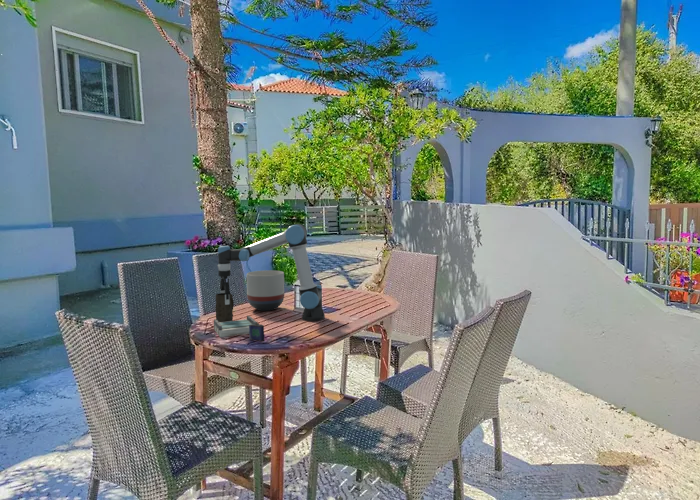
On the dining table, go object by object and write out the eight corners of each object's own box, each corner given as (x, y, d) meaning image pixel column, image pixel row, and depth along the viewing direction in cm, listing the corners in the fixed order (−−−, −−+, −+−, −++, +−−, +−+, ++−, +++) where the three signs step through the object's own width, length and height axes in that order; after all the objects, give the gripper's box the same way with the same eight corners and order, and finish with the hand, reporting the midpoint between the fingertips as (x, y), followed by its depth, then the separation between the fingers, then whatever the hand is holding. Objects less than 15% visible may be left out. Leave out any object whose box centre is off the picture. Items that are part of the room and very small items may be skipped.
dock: (257, 332, 292) (256, 322, 291) (220, 337, 282) (219, 326, 281) (249, 325, 310) (248, 315, 309) (213, 329, 300) (213, 319, 299)
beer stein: (228, 326, 306) (228, 294, 306) (212, 325, 308) (212, 294, 308) (238, 322, 321) (238, 292, 321) (223, 321, 323) (223, 291, 323)
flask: (248, 340, 276) (248, 321, 275) (251, 338, 279) (250, 320, 278) (263, 341, 274) (262, 323, 273) (265, 340, 276) (265, 321, 275)
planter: (274, 315, 336) (273, 276, 333) (240, 312, 345) (239, 275, 342) (290, 306, 361) (290, 271, 359) (259, 304, 370) (258, 269, 367)
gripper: (214, 267, 321) (215, 299, 323) (222, 272, 299) (223, 306, 301) (226, 267, 324) (227, 298, 326) (234, 272, 302) (235, 305, 304)
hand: (225, 302), depth 314 cm, fingers open, 13 cm apart
